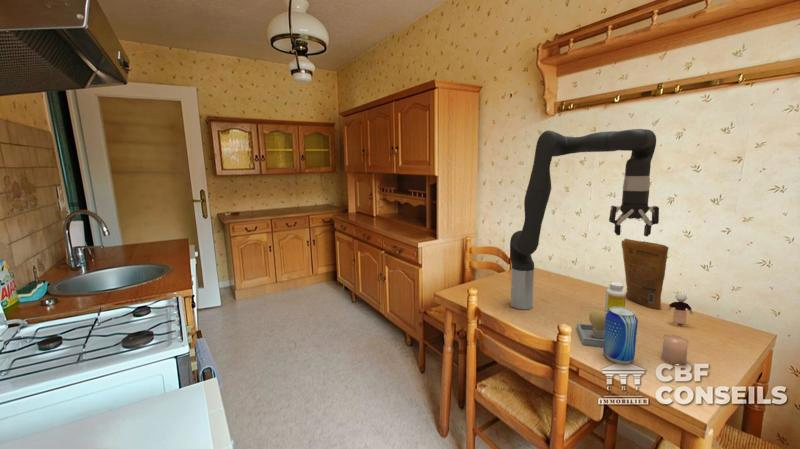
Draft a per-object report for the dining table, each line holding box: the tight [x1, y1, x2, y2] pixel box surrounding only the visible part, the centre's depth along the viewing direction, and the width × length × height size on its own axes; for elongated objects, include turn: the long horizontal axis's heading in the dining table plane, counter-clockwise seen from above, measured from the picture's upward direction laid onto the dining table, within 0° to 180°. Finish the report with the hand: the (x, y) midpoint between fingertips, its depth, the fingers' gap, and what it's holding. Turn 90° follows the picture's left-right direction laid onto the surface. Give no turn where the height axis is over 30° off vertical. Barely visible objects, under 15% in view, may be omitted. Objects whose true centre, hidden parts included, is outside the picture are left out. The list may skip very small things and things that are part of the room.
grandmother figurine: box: [666, 292, 694, 328], centre depth 130 cm, size 8×4×13 cm, turn 71°
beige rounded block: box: [661, 334, 689, 366], centre depth 107 cm, size 6×6×7 cm
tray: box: [576, 322, 604, 348], centre depth 122 cm, size 12×12×2 cm
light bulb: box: [588, 309, 607, 339], centre depth 121 cm, size 6×6×10 cm
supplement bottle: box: [604, 281, 626, 313], centre depth 140 cm, size 7×7×13 cm
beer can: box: [602, 307, 639, 365], centre depth 109 cm, size 8×8×16 cm
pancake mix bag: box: [621, 238, 670, 310], centre depth 149 cm, size 7×19×28 cm, turn 16°
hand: (631, 235), depth 121 cm, fingers open, 8 cm apart
